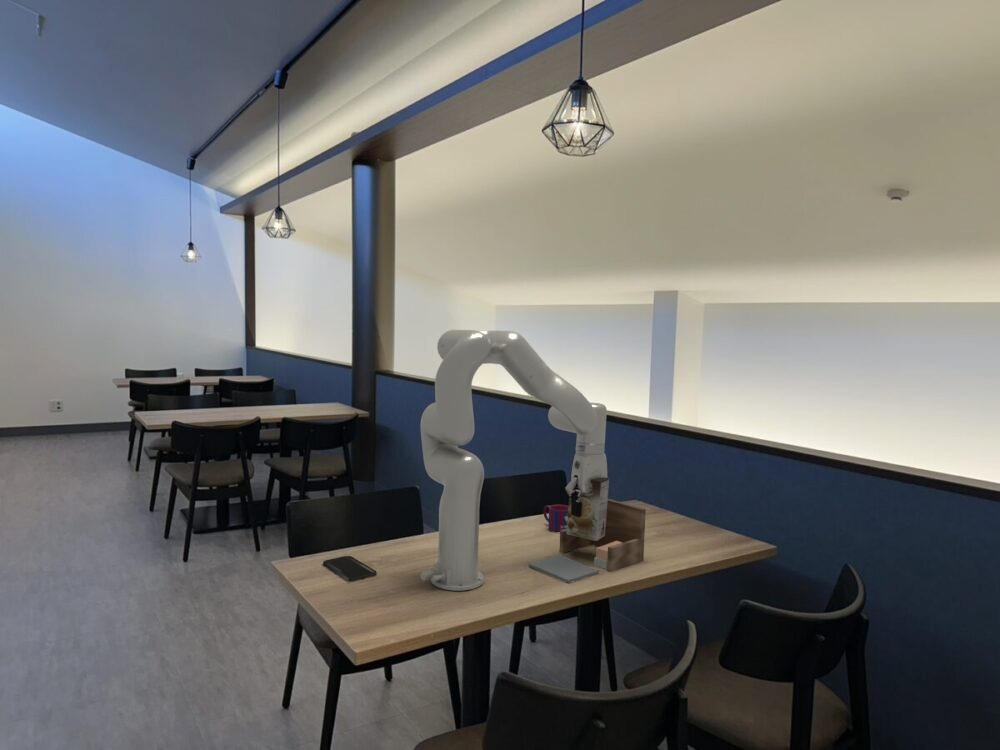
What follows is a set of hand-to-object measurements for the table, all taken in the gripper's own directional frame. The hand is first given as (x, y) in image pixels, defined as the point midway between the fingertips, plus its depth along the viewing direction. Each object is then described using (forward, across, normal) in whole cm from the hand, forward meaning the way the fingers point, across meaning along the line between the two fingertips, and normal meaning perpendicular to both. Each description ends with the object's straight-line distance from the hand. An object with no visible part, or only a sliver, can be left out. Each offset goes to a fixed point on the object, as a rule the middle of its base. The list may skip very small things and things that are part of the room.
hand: (586, 513), depth 177 cm
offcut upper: (+10, +2, -8) cm, 13 cm away
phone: (+14, -55, +28) cm, 63 cm away
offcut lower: (+12, +2, -8) cm, 15 cm away
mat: (+12, -12, -4) cm, 17 cm away
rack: (+12, +3, -3) cm, 12 cm away
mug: (+12, +12, +22) cm, 28 cm away
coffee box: (+6, 0, 0) cm, 6 cm away
